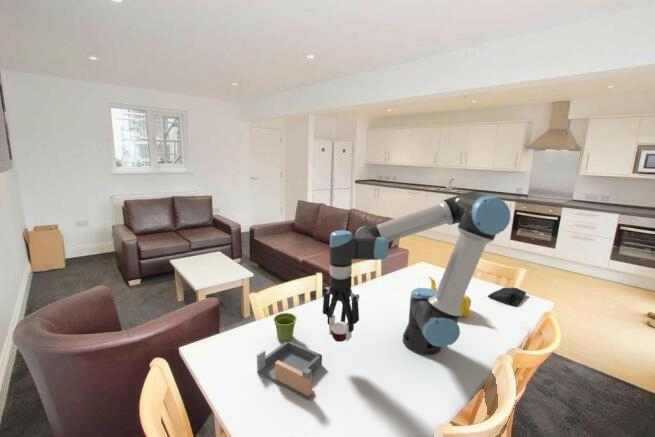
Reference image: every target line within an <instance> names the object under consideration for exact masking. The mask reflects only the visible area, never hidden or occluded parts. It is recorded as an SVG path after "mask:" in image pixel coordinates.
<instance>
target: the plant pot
mask: <svg viewBox="0 0 655 437" xmlns="http://www.w3.org/2000/svg"><path fill="white" fill-rule="evenodd" d="M297 319H298V318H297V316H296V315H295V314H293V313H290V312H283V313H278V314H276V315H275V316H274V317H273V323H274V325H275V329H276V336H277V340H278V341H280V342H283V343H285V342H286V341H287V340H289V341H291V340H292V339H293V336H294V330H295V324H296V322H297Z"/></svg>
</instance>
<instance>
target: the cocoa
mask: <svg viewBox="0 0 655 437" xmlns="http://www.w3.org/2000/svg"><path fill="white" fill-rule="evenodd" d="M341 306H342V307H341V316H340V321H338V322H335V324H333V325H332V326H331V333H332V335H331V337H332V338H333V340H334V341H335V342H338V343H339V342H341V343H342V342H345V341H346V323H347V322H348V321H347V322H346V319H347V316H346V313H345V309H344V306H343V305H341Z"/></svg>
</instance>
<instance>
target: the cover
mask: <svg viewBox="0 0 655 437" xmlns="http://www.w3.org/2000/svg"><path fill="white" fill-rule="evenodd" d="M312 375H313V374H312V370H310V369H308V368H306V369H304V370H303V372H301V371H299V370H297V369H295V368H293V367H291V366H289V365H287V364H285V363H283V362H281V361H279V360H278V361H277V362H275V379H276V380H278V381H280V382H282V383H284V384H286V385H288V386H290V387H291V388H293V389H295V390H297V391H299V392H301V393H303V394H305V395H306V396H308V397H309V396H310V395H311V394H312V390H313V388H312V387H313V384H312V383H313V376H312Z"/></svg>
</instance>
